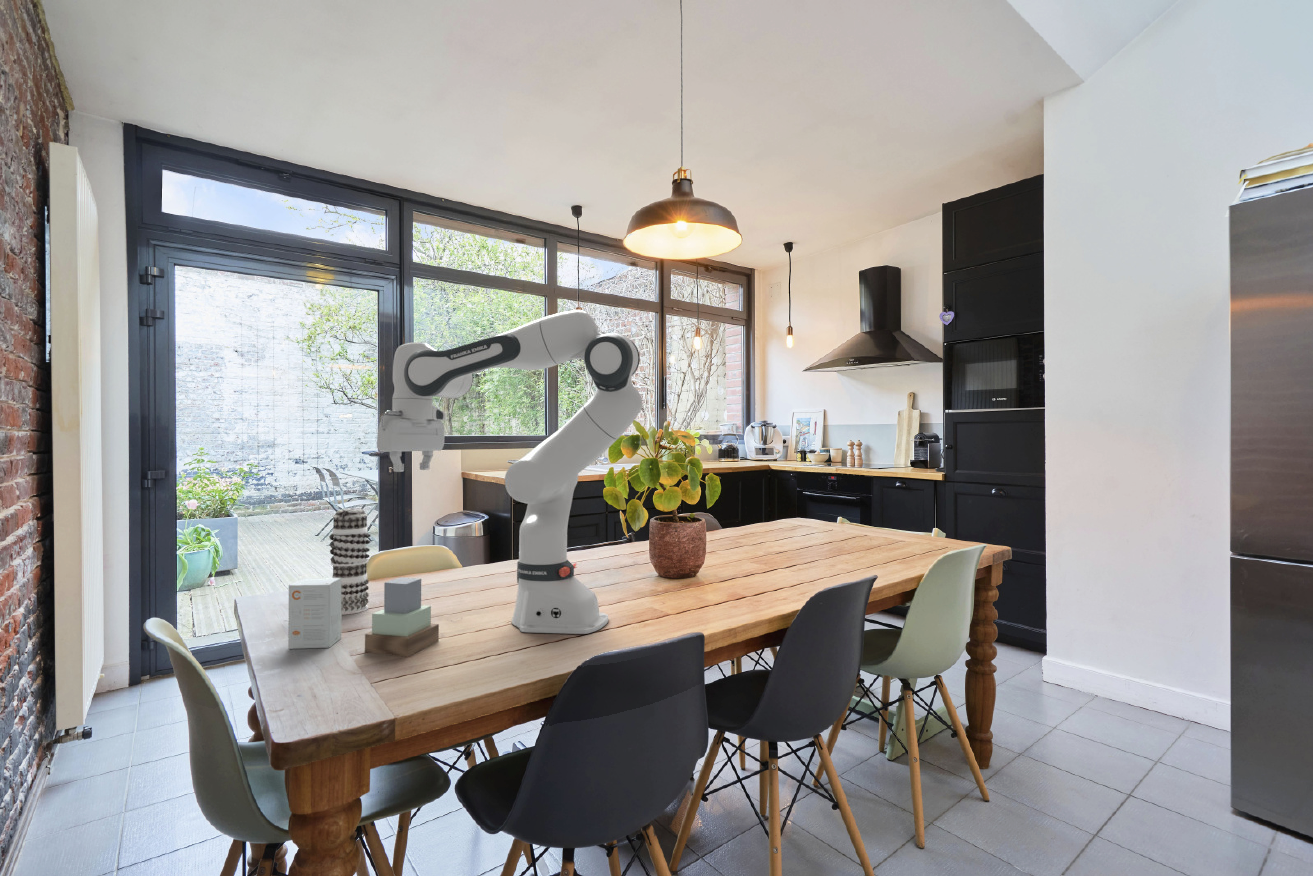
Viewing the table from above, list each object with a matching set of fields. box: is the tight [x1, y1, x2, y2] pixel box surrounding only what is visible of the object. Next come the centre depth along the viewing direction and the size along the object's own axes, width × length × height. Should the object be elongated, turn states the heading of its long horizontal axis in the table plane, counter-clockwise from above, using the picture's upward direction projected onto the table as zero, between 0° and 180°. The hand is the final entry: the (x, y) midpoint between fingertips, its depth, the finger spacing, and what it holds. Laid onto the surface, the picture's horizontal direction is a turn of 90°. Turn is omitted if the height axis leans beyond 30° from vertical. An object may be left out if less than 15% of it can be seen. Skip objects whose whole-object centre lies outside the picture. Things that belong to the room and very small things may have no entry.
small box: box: [287, 577, 343, 650], centre depth 128 cm, size 8×6×13 cm
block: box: [383, 576, 422, 614], centre depth 127 cm, size 5×5×6 cm
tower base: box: [364, 622, 440, 658], centre depth 127 cm, size 10×10×4 cm
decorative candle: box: [328, 507, 371, 615], centre depth 153 cm, size 9×9×25 cm
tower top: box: [371, 604, 432, 637], centre depth 127 cm, size 8×8×4 cm
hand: (412, 470), depth 145 cm, fingers open, 8 cm apart
